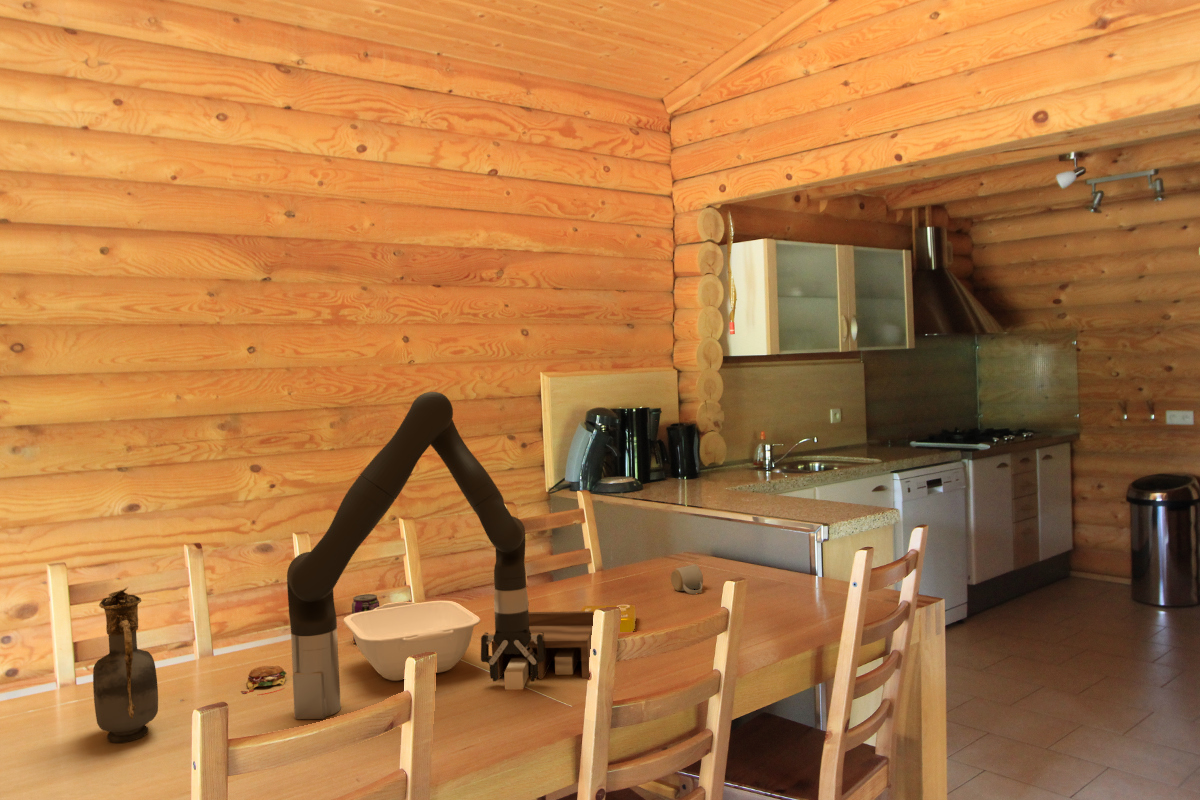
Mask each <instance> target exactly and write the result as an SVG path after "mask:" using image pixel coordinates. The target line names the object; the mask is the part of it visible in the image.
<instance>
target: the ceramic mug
mask: <svg viewBox="0 0 1200 800" xmlns="http://www.w3.org/2000/svg"><path fill="white" fill-rule="evenodd" d="M670 574H671V575H670V583H671V586H672V588H673V589H674V590H675V591H676V592H685V593H687V594H690V595H697V594H696V593H699V594H701V592H703V585H704V584H703V583H704V577H703V572H702V570H701V568H700V566H699V565H697V564H695V563H693V564H688V565H686V566H682V567H676V568H675V569H673V570H672V571H671V573H670ZM694 589H695V590H694Z"/></svg>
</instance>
